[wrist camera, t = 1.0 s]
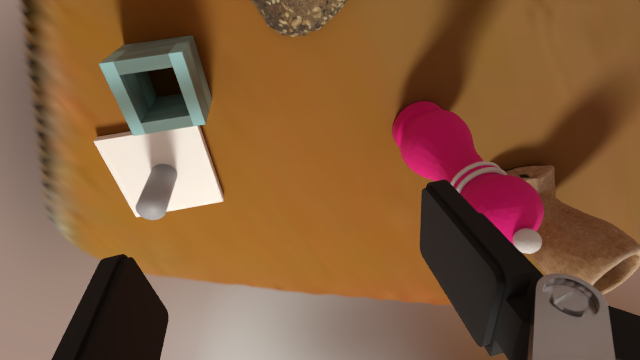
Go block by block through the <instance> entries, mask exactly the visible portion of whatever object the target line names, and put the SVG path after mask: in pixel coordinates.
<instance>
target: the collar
mask: <svg viewBox="0 0 640 360" xmlns="http://www.w3.org/2000/svg"><path fill="white" fill-rule="evenodd" d="M99 65H100V67H101V69H102V71H103V73H104V76H105V78H106V80H107V82H108V84H109V86H110V88H111V90H112V92H113V94H114V96H115V99H116V101H117V103H118V105H119V107H120V109H121V111H122V113H123V115H124V117H125V120H126V122H127V124H128V126H129V128H130V130H131V132H132V134H133V136H137V135H143V134H149V133H156V132H162V131H168V130H174V129H180V128H186V127H192V126H198V125H205V124H206V121H207V117H208V113H209V109H210V105H211V101H212V97H211V94H210V90H209V87H208V84H207V80H206V77H205V74H204V70H203V67H202V64H201V60H200V57H199V54H198V50H197V47H196V44H195V40H194V37H193V35H191V36H183V37H176V38H169V39H162V40H155V41H148V42H141V43H134V44H126V45H123V46H122V47H120V48H119V49H118V50H116V51H115V52H114V53H112V54H111V55H110V56H108V57H107V58H106V59H104V60H103V61H102V62H101V63H99ZM171 67H173V69H174V72H175V74H176V77H177V80H178V83H179V86H180V89H181V91H182V93H181V94H175V95H168V96H162V97H157V96H156V93H155V91H154V88H153V86H152V83H151V81H150V78H149V76H148V73H147V71H151V70H157V69H164V68H171Z"/></svg>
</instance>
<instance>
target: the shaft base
mask: <svg viewBox="0 0 640 360" xmlns="http://www.w3.org/2000/svg"><path fill="white" fill-rule="evenodd" d="M94 143H95V145H96V146H97V148H98V150H99V152H100V154H101V155H102V157H103V159H104V161H105V163H106V164H107V166H108V168H109V170H110V171H111V173H112V175H113V177H114V179H115V180H116V182H117V184H118V186H119V187H120V189H121V191H122V193H123V195H124V196H125V198H126V200H127V202H128V203H129V205H130V207H131V209H132V211H133V212H134V214H135V216H136V217H140V216H141V217H143V218H145V219H149V220H156V219H160V218H162V217H163V216H164V215H165V213H166V212H168V211H173V210H179V209H184V208H190V207H195V206H201V205H206V204H211V203H217V202H222V201H223V199H224V195H223V192H222V189H221V186H220V184H219V181H218V178H217V175H216V172H215V169H214V166H213V163H212V160H211V157H210V154H209V151H208V148H207V145H206V142H205V139H204V136H203V134H202V131H201V128H200V125H198V126H192V127H186V128H180V129H174V130H168V131H162V132H156V133H149V134H143V135H137V136H133V134H132V132H131V131H129V132H123V133H117V134H111V135H105V136H99V137H97V138H96V139H95V140H94Z"/></svg>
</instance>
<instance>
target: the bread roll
mask: <svg viewBox="0 0 640 360" xmlns="http://www.w3.org/2000/svg"><path fill="white" fill-rule="evenodd" d="M251 1H252V2H253V3H254V4H255V6H256V7H257V8H258V10H259V11H260V14H261V15H262V16H263V18H264V19H265V21H266V23H267V24H268V26H269V27H272V28H273V29H275V31H276V32H278V33H280V34H281V35H284V36H286V35H290V36H292V37H294V36H299V35H302V36H305V35H307V33H308V32H310V31H314V30H319V29H321V28H322V25H323V24H325V23H327V21H328V20H329V19H331V18H332V17H333V16H334V15H336V14H337V13H338V12H339V11H340V9H341V7H343V6H344V3H345V2H346V1H347V0H251Z"/></svg>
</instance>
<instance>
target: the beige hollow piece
mask: <svg viewBox="0 0 640 360" xmlns="http://www.w3.org/2000/svg"><path fill="white" fill-rule="evenodd" d="M505 172H506V173H507V175H512V176H516V177H519V178H522V179H523V180H525V181H526V182H528V183H529V184H530V185H531V186H532V187H533V188H534V189H535V190H536V191H537V192H538V194H539V195H540V197H541V200H542V202H543V206H544V215H543V220H542V223H541V225H540V227H539V228H538V230H537V231H536V232H537V233H538V234H539V235H540V236H541V239H542V245H541V248H540V249H539V250H538V251H536V252H535V253H532V255H533V257H534V259H535V260H536V262H537V264H538V265H539V267H540V268H541V269H542V270H543V271H544V272H545V273H546V275H548V274H554V273H561V274H568V275H572V276H575V277H577V278H580V279H582V280H584V281H586V282H588V283H589V284H591V285H592V286H594V287H595V288H596V289H597V290H598V291H599V292H600V293H601V294H602V295H603V294H605V293H607V292H609V291H611V290H613V289H614V288H615V287H617V286H618V285H620V284H621V283H623V282H624V281H625V280H626V279H627V278H629V277H630V276H631V275H632V274H633V273H634V272H635V271H636V270H637V269H638V267H639V266H640V245H639V244H638V243H637V242H636V241H635V240H634V239H633V238H631V237H630V236H629V235H627V234H626V233H624V232H623V231H622V230H620V229H619V228H618V227H616V226H614V225H613V224H611V223H609V222H607V221H604V220H601V219H599V218H596V217H593V216H591V215H588V214H586V213H584V212H581V211H579V210H577V209H575V208H572V207H570V206H568V205H566V204H564V203H562V202H561V201H559V200H558V199H557V198H556V197H555V168H554V167H553V166H551V165H545V166H527V167H519V168H515V169H512V170H508V171H505Z"/></svg>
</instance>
